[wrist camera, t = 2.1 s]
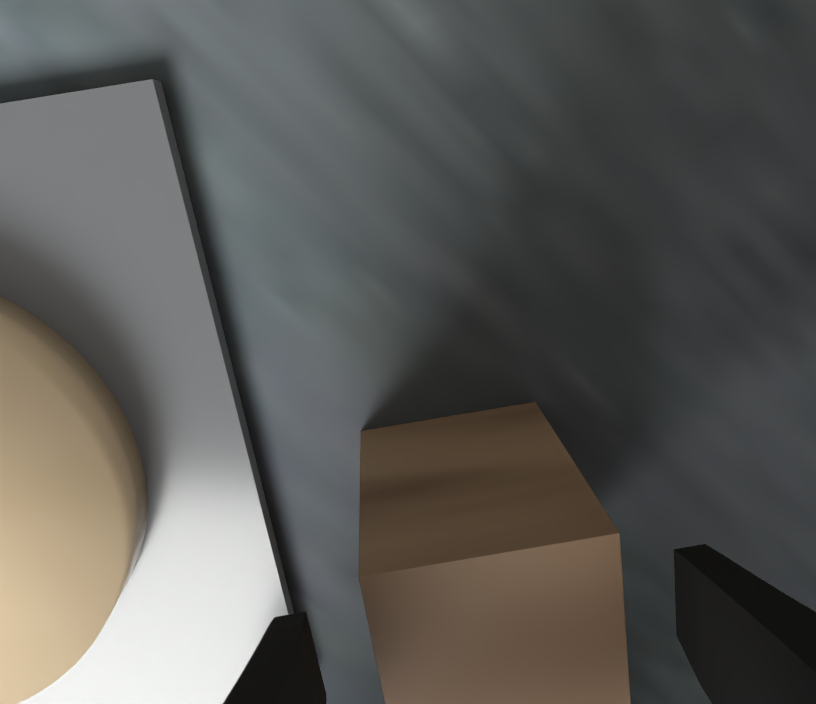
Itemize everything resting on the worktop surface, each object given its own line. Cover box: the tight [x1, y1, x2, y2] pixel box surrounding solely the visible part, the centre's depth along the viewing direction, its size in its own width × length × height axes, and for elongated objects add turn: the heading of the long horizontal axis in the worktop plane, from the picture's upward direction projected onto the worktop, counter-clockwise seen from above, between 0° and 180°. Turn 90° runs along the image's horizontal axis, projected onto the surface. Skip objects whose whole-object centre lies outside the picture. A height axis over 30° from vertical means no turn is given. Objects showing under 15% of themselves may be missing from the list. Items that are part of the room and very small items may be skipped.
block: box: [359, 402, 631, 704], centre depth 15 cm, size 4×4×6 cm
